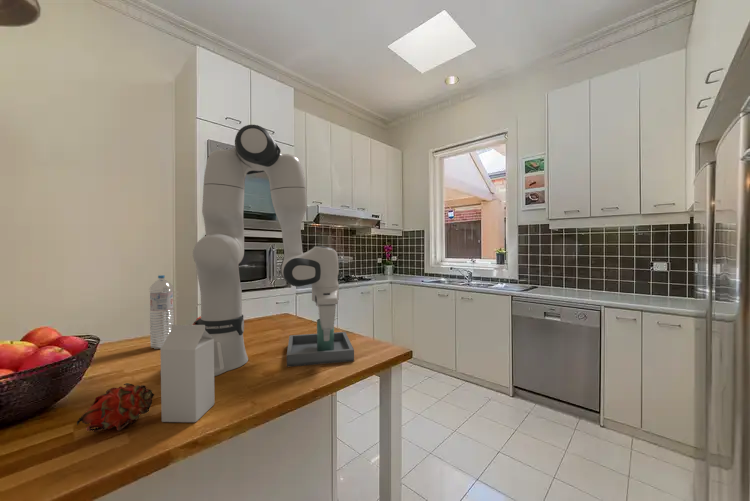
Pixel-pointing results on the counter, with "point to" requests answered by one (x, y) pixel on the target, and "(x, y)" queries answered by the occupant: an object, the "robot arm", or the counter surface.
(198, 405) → the milk carton
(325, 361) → the tray
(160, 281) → the water bottle
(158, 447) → the counter surface
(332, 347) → the green rounded cylinder
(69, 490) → the counter surface
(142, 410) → the dragon fruit
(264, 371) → the counter surface
